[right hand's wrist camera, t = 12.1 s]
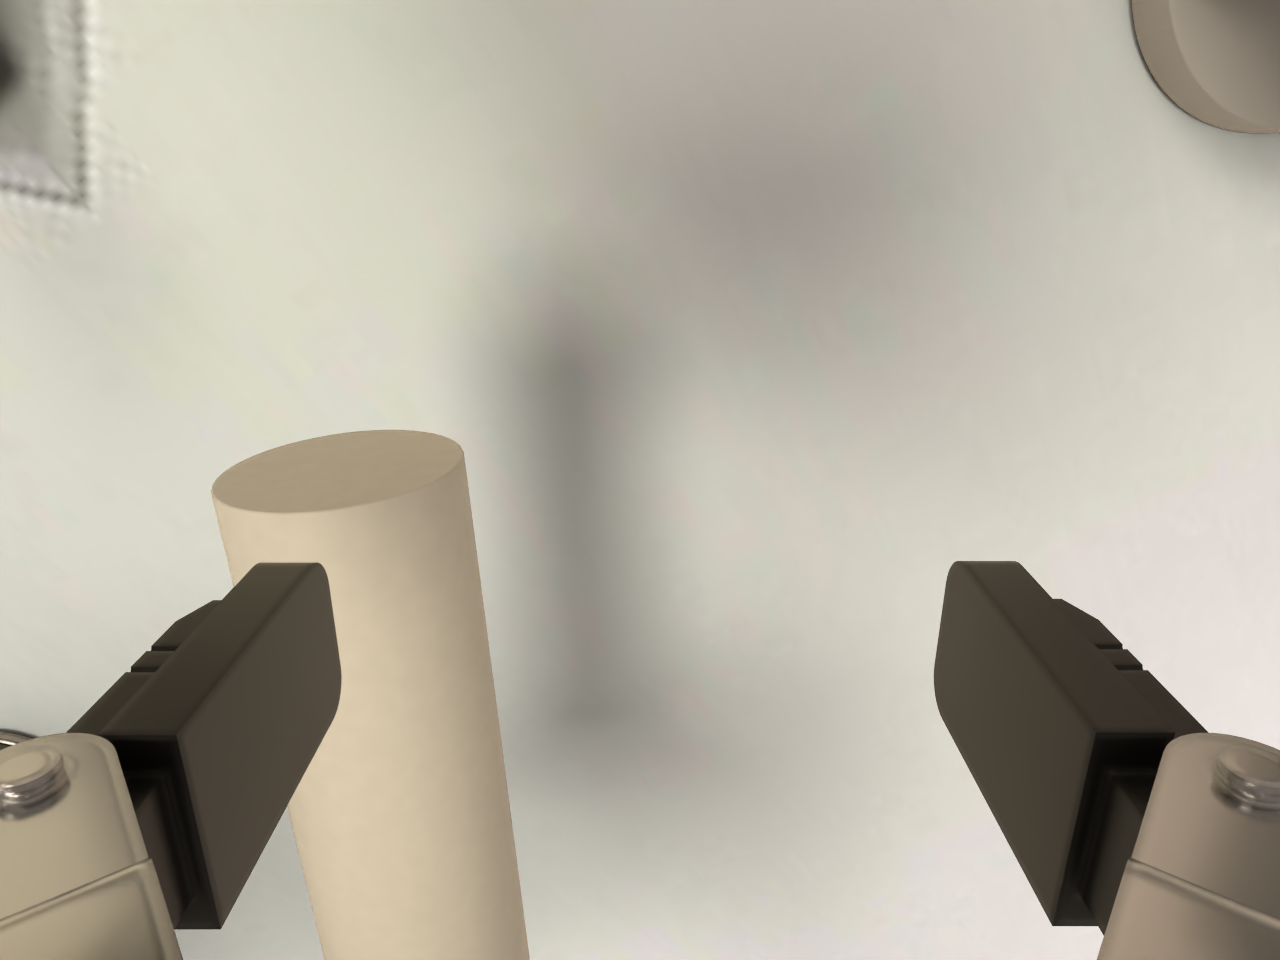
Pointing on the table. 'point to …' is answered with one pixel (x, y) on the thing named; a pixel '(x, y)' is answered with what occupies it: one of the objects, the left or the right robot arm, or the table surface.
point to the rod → (392, 695)
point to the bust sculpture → (1215, 58)
